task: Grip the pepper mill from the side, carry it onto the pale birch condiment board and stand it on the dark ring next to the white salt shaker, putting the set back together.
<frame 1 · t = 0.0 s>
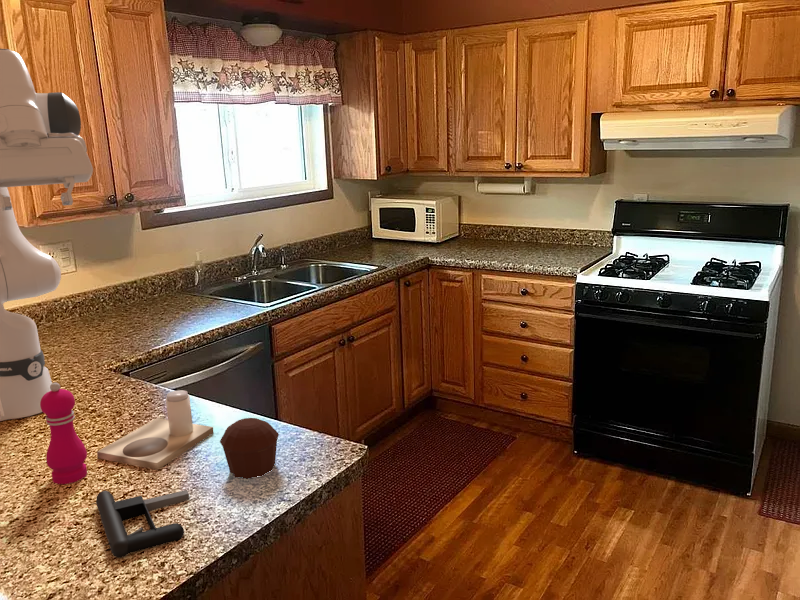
hand: (38, 206, 112), 54 cm above the worktop, tool tilted 30°, fingers open, 8 cm apart
door handle: (147, 522, 116), on the worktop
salt shaker: (181, 431, 147), resting on condiment board
pepper mill: (70, 477, 132), on the worktop
condiment board: (157, 445, 145), on the worktop
muffin: (252, 468, 133), on the worktop
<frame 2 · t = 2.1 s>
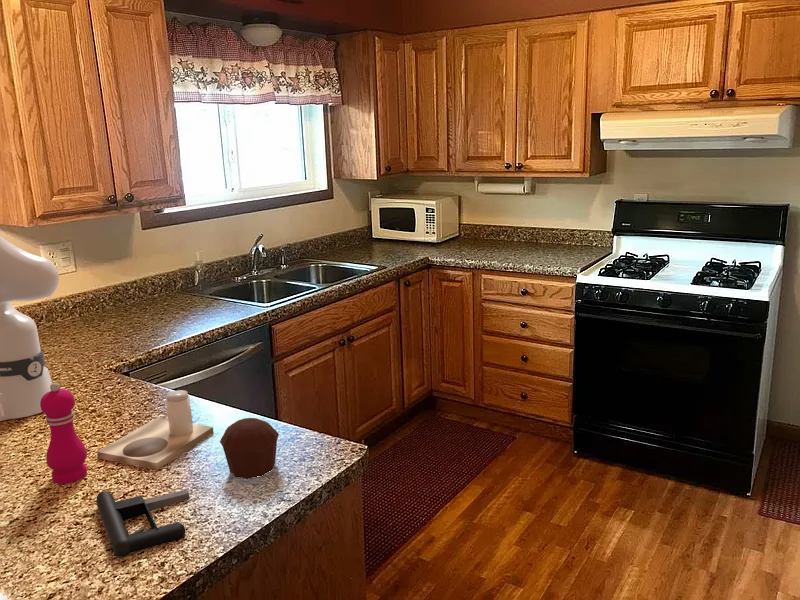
nothing on the worktop moved.
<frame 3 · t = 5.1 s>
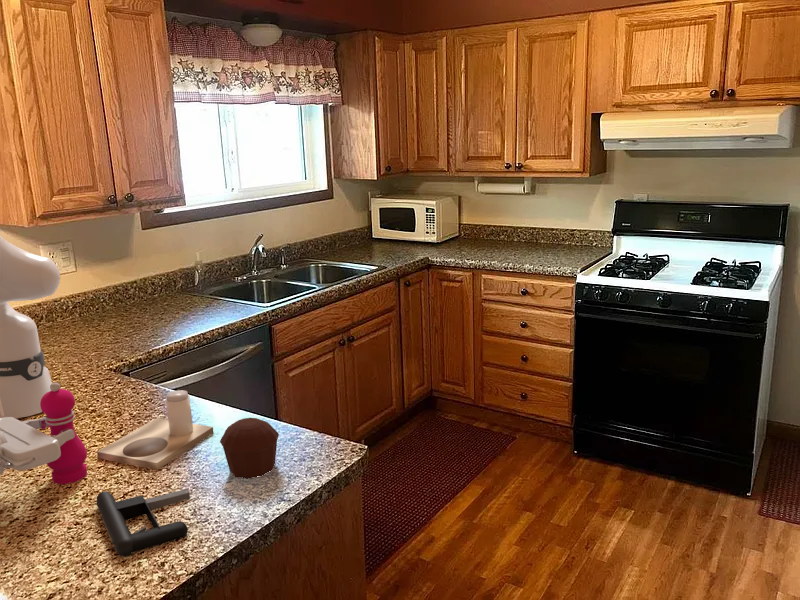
hand: (60, 426, 129), 11 cm above the worktop, tool horizontal, fingers open, 8 cm apart
nothing on the worktop moved.
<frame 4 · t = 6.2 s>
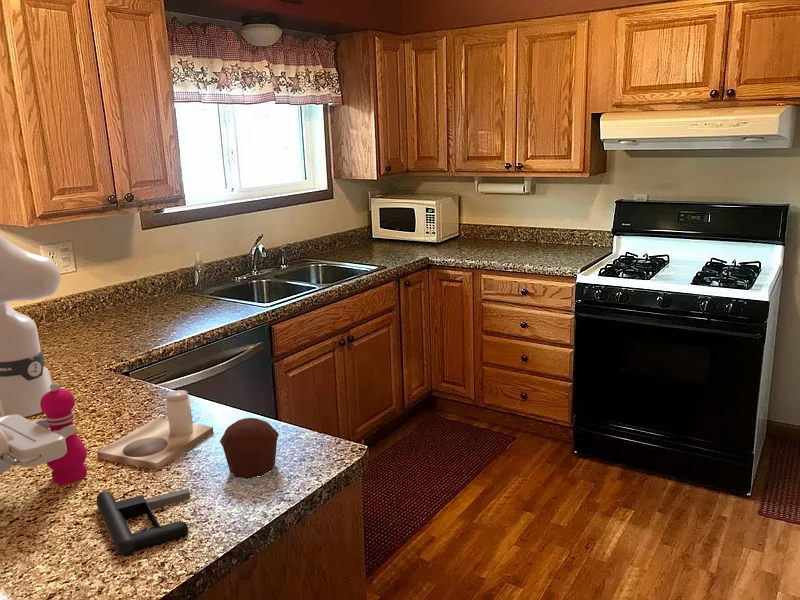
hand: (66, 424, 130), 11 cm above the worktop, tool horizontal, fingers closed on pepper mill, 5 cm apart
pepper mill: (70, 477, 132), on the worktop, touching gripper
everything else where it was.
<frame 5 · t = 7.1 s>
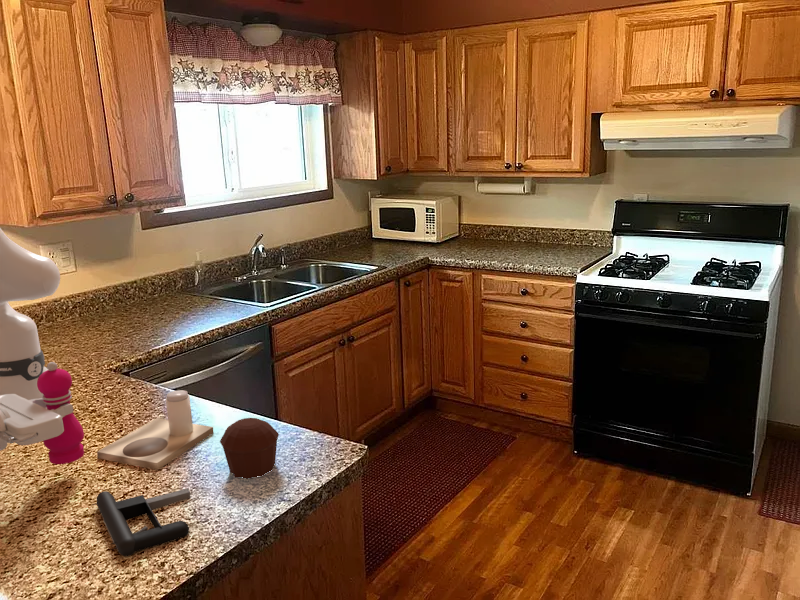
hand: (63, 403, 129), 15 cm above the worktop, tool horizontal, fingers closed on pepper mill, 5 cm apart
pepper mill: (67, 458, 131), point 4 cm above the worktop, touching gripper
everything else where it was.
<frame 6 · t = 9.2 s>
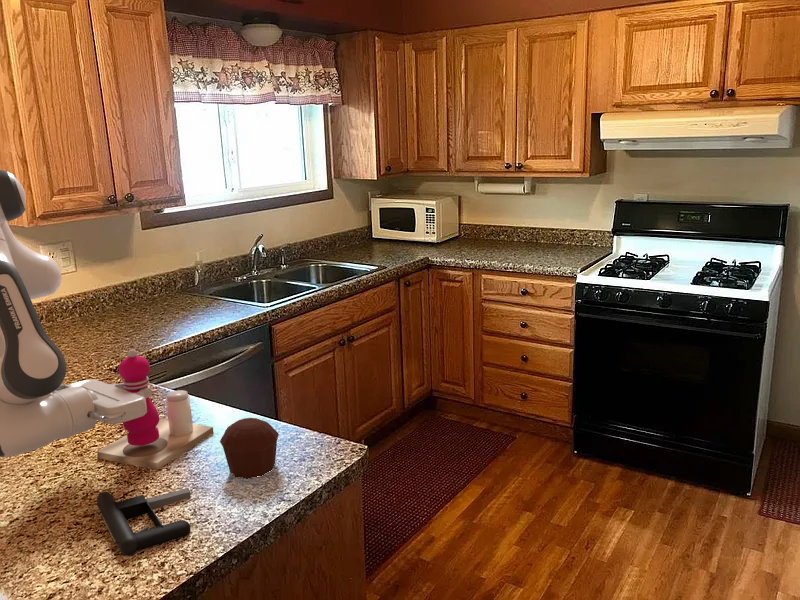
hand: (141, 388, 138), 15 cm above the worktop, tool horizontal, fingers closed on pepper mill, 5 cm apart
pepper mill: (143, 440, 140), point 3 cm above the worktop, touching gripper
everything else where it was.
when the fingers open (14 cm above the worktop, at t = 9.8 s): pepper mill stays where it is, resting on condiment board.
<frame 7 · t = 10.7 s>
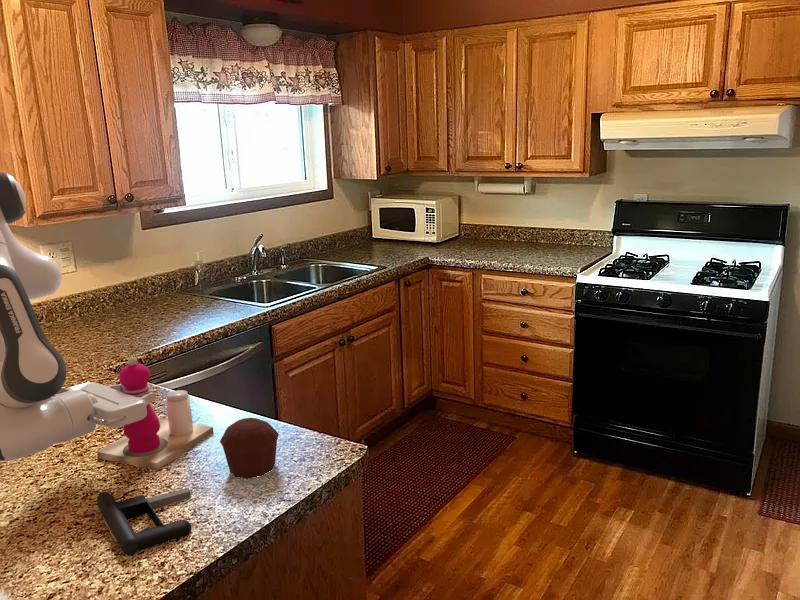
hand: (141, 391, 138), 14 cm above the worktop, tool horizontal, fingers open, 8 cm apart
pepper mill: (144, 447, 141), point 1 cm above the worktop, touching condiment board
everything else where it was.
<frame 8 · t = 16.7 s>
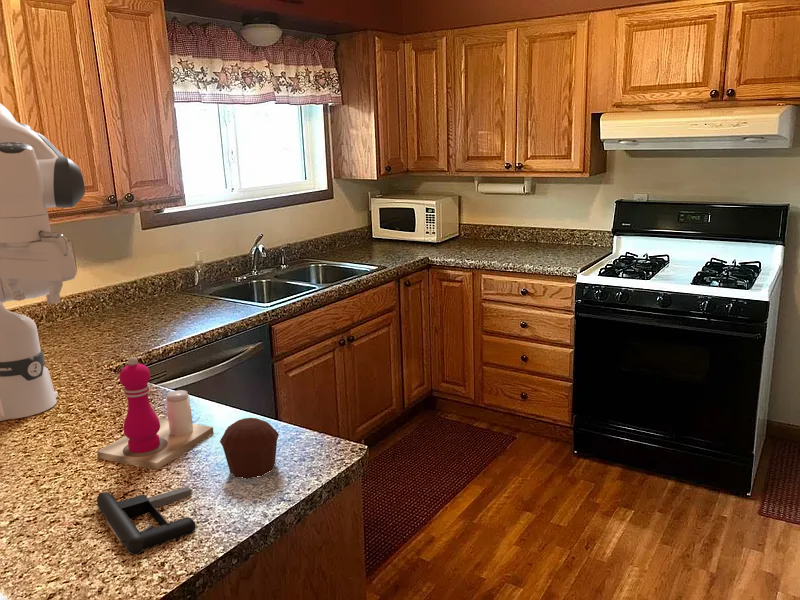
hand: (36, 301, 128), 35 cm above the worktop, tool pointing down, fingers open, 8 cm apart
at the end: pepper mill inside the target area on the condiment board (0.2 cm from its centre), point 1.4 cm above the condiment board's base; pepper mill tilted 0°; the gripper is holding nothing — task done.
